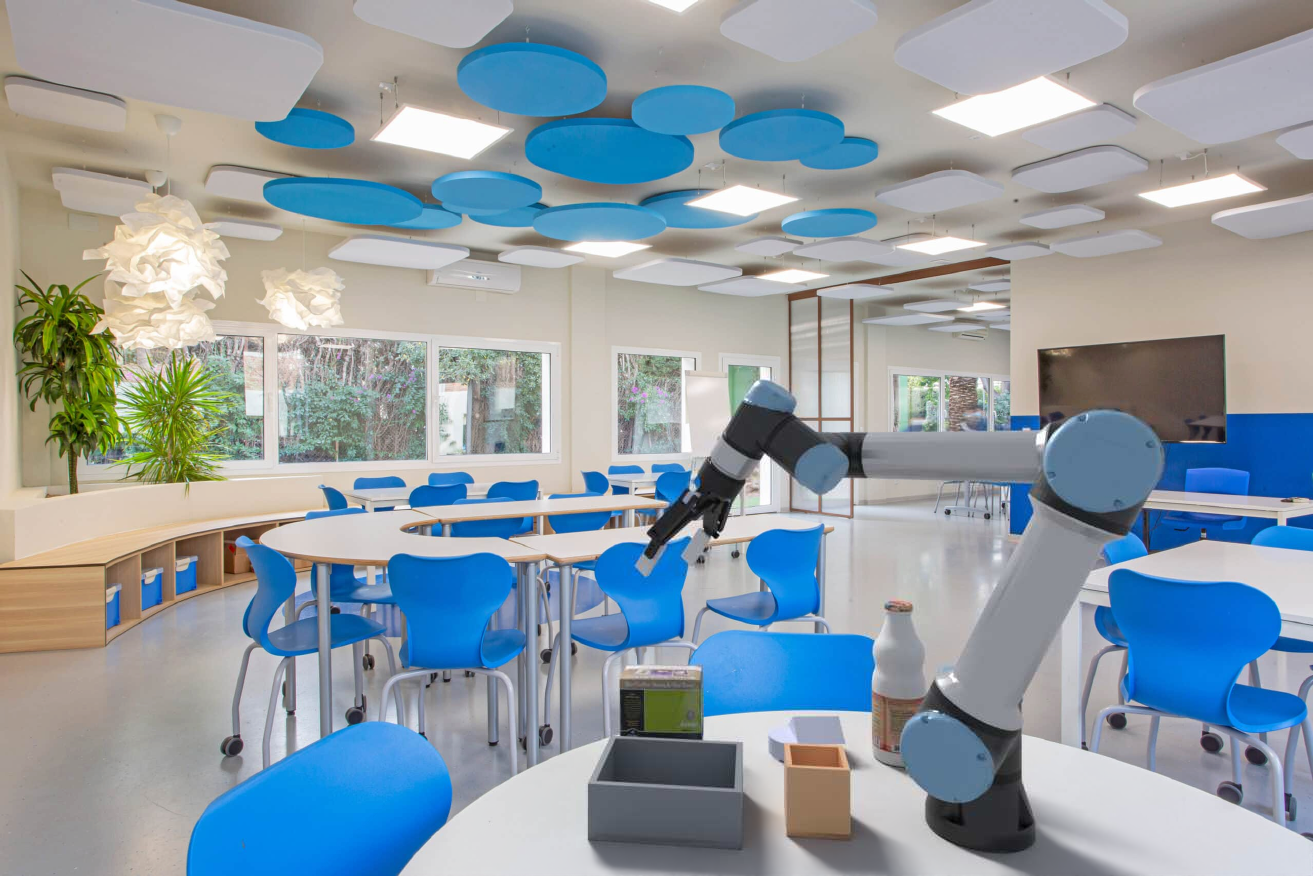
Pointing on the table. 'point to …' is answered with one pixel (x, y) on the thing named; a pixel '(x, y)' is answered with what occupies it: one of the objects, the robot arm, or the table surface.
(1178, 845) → the table surface
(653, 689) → the tea box
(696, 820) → the large crate
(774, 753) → the wedge on round base
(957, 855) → the table surface
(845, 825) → the small crate
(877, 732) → the fruit juice
